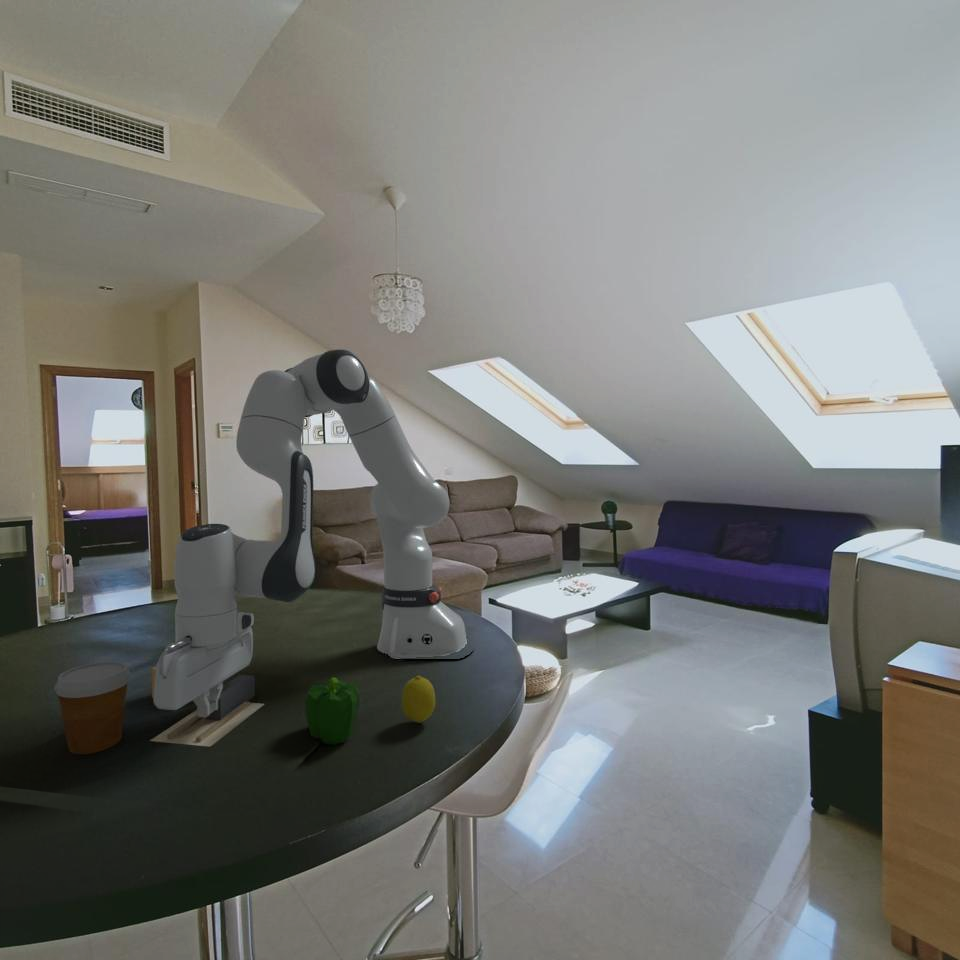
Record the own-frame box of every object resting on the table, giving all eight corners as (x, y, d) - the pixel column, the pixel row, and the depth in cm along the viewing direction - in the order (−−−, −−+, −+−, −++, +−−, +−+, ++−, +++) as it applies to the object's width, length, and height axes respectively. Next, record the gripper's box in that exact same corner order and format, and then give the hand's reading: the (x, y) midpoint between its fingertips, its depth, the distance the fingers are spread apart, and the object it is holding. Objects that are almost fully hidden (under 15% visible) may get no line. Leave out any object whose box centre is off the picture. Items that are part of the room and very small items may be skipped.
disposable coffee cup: (40, 760, 85) (38, 678, 84) (103, 731, 93) (101, 657, 93) (86, 773, 81) (84, 688, 81) (147, 741, 90) (145, 665, 90)
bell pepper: (310, 726, 95) (310, 665, 95) (362, 724, 96) (361, 664, 96) (298, 752, 87) (298, 686, 87) (354, 750, 88) (354, 684, 87)
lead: (254, 695, 104) (254, 675, 104) (220, 720, 95) (220, 698, 94) (240, 694, 105) (240, 674, 105) (205, 719, 95) (204, 697, 95)
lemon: (421, 734, 92) (421, 685, 92) (394, 726, 95) (394, 677, 95) (442, 721, 97) (442, 674, 97) (415, 713, 100) (415, 667, 100)
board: (264, 710, 101) (264, 700, 101) (210, 754, 86) (209, 742, 86) (212, 706, 103) (212, 696, 103) (150, 748, 88) (149, 736, 88)
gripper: (180, 650, 82) (181, 747, 83) (259, 612, 102) (260, 690, 103) (140, 647, 83) (142, 743, 84) (226, 610, 103) (227, 688, 104)
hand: (208, 713), depth 93 cm, fingers closed
